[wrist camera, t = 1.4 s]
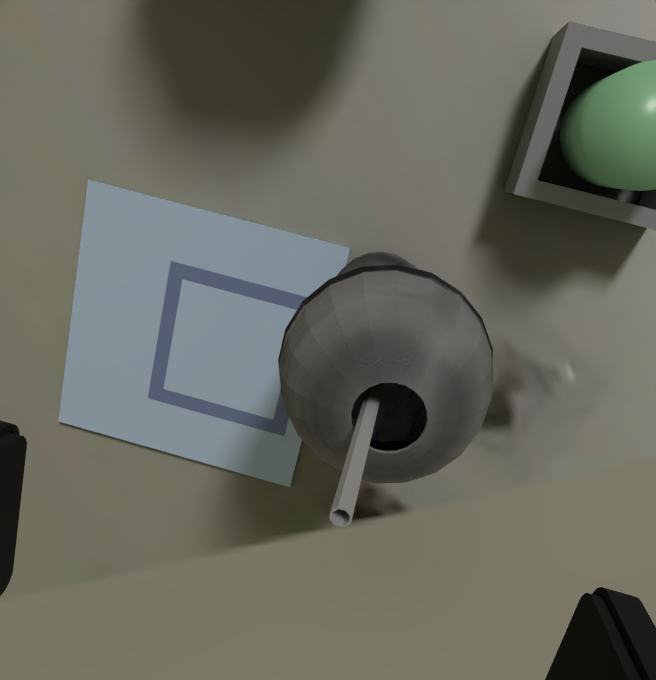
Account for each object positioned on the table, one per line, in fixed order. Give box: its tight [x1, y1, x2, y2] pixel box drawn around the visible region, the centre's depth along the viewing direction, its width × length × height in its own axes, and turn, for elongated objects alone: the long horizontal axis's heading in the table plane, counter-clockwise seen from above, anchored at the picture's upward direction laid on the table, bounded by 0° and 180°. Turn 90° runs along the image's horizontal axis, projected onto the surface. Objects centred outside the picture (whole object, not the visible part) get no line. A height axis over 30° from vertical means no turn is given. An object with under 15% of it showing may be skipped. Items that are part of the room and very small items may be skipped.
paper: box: [59, 180, 351, 487], centre depth 34 cm, size 14×14×1 cm
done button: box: [560, 60, 656, 191], centre depth 25 cm, size 5×5×4 cm
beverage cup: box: [278, 252, 493, 528], centre depth 23 cm, size 7×7×20 cm
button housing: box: [504, 22, 656, 230], centre depth 27 cm, size 7×7×3 cm
